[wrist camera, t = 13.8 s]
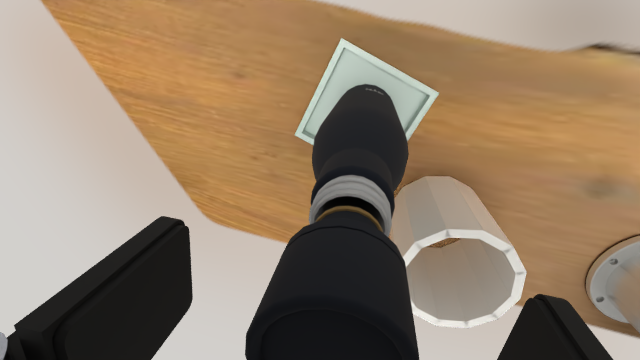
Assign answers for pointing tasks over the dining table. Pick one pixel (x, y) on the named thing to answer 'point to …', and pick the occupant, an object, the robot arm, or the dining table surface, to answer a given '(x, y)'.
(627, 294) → the robot arm
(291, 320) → the wine bottle
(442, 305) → the wine cooler
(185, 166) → the dining table surface
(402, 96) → the sage tray
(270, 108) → the dining table surface
